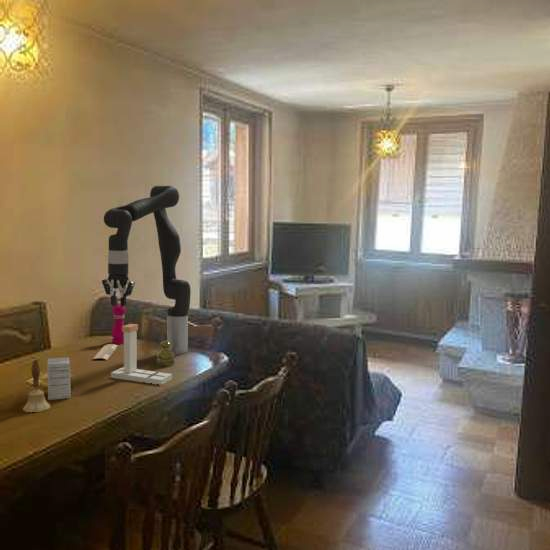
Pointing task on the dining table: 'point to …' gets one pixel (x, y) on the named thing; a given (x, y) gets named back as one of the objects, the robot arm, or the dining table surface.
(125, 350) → the fader tab
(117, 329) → the pepper mill
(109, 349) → the newspaper
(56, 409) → the dining table surface
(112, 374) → the white scale plate
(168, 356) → the brass knobbed piece
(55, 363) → the supplement box
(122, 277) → the robot arm
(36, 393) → the hand bell
